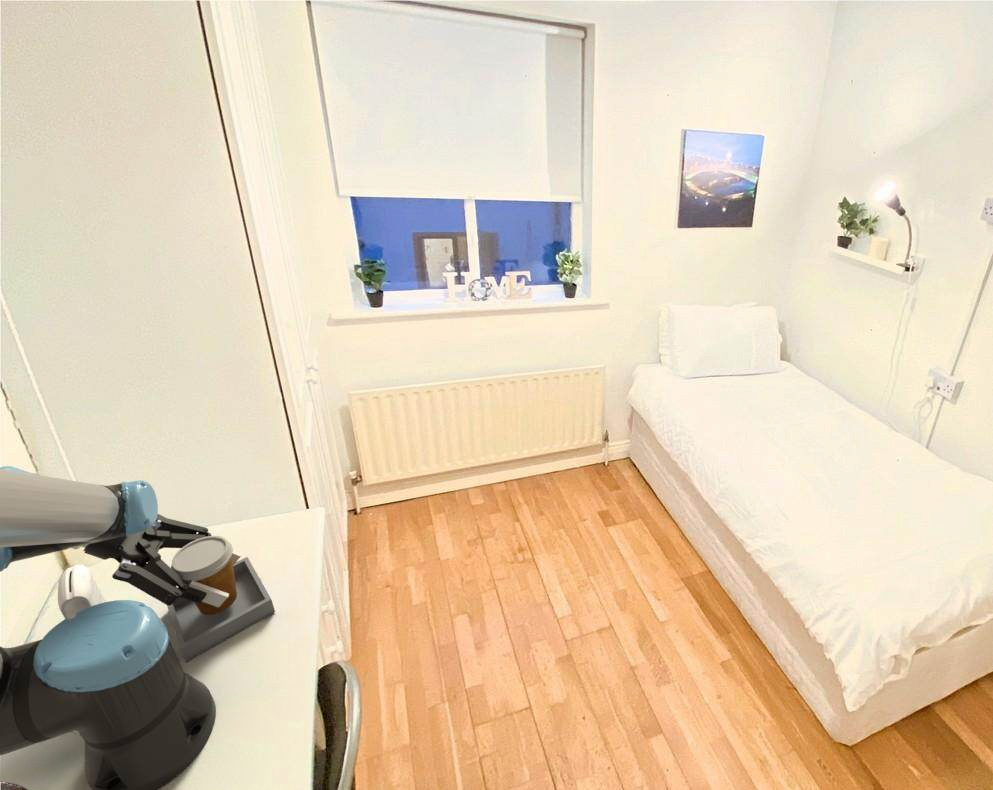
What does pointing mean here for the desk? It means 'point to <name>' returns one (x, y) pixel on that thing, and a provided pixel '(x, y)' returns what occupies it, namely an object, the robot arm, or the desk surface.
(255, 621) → the charcoal tray
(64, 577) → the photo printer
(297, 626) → the desk surface
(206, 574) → the disposable coffee cup
